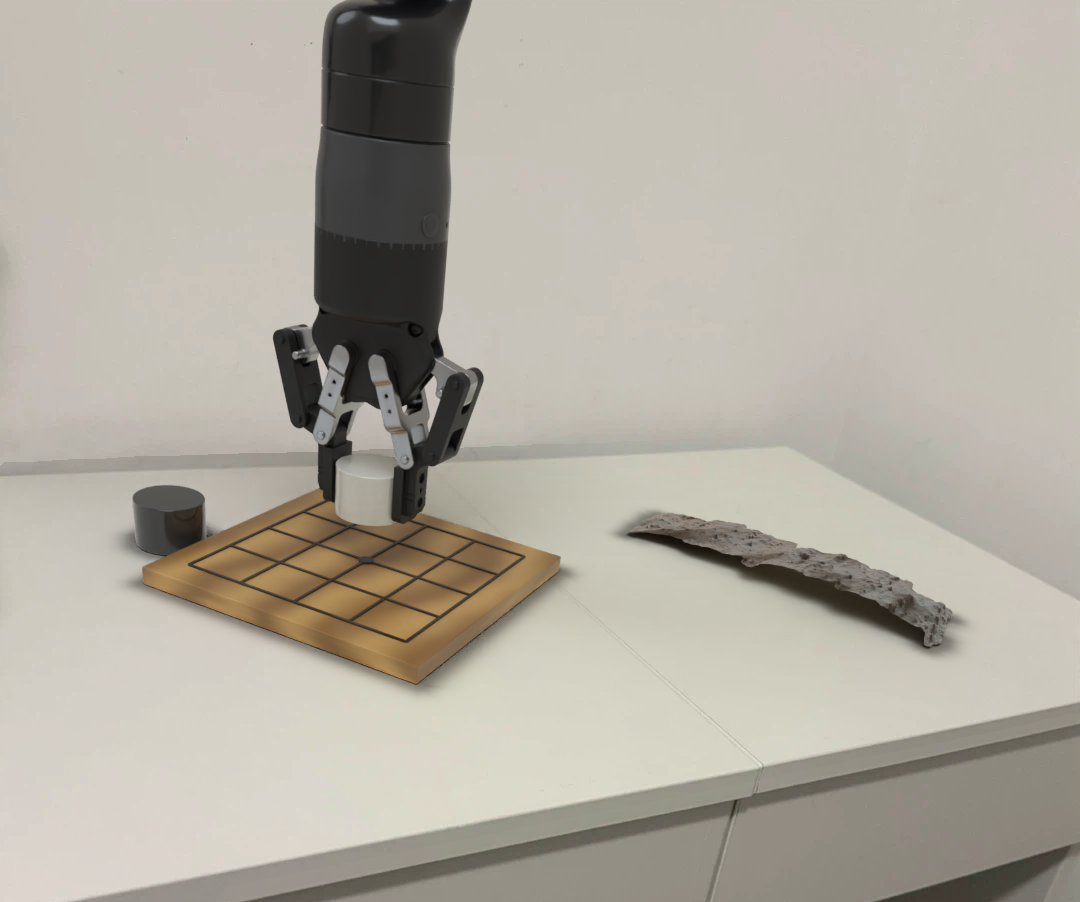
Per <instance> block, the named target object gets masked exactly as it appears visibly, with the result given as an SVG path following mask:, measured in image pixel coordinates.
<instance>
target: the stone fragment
mask: <svg viewBox="0 0 1080 902" xmlns="http://www.w3.org/2000/svg"><path fill="white" fill-rule="evenodd" d="M626 533H627V534H630V533H649V534H656V535H663V536H670V537H673V538H675V539H679V540H682V542H683V543H685V544H689V545H693V546H698V547H699V546H700V547H701V548H703V547H705V548H710V549H711V550H714V551H717V552H718V553H719V552H720V554H725V555H730V556H739V557H742V559H741V561H740V562H741V564H742V565H744V566H746V567H750V568H753V567H756V566H760V565H773V566H780V567H785V568H787V569H791V570H795V571H797V572H798V573H802V574H803V576H805V577H809V578H815V579H819V580H822V581H828V582H830V583H835V584H834V588H835V589H836V590H838V591H841V592H843V591H847V592H851V593H854V594H856V595H857V594H858V595H859V596H861V597H863V598H866V599H869V600H873V601H876V603H878V604H879V606H880V607H883V608H885V609H887V610H888V612H889V613H890V614H892V615H895V616H897V617H898V618H899V619H901V620H904V621H905V622H907V623H908V624H910V625H912V626H914V627H917V628H921V629H922V631H923V632H924V636H923V645H924V646H925V647H926V648H927V647H929V648H932V647H934V646H938V645H940V644H942V642H943V641H944V640H943V639H944V635H945V631H946V628H947V623H948V618H949V619H951V616H952V618H953V615H954V613H953V610H952V609H950V608H948V607H947V606H946V604H945V603H944V602H942V601H935V600H934V599H932V598H930V597H927V596H925V595H923V594H921V593H918V592H917V591H915V590H914V589H913V587H914V583H913V582H912V581H910V580H908V579H902V578H900V577H899V576H896V575H894V574H891V573H889V572H888V571H886V570H883V569H876V568H870V566H869V565H867V564H866V563H862V562H861V561H859V560H858V559H855V558H852V557H848V556H847V554H845V553H827V552H821V550H817V549H816V548H813V547H798V545H799V543H796V542H794V541H791V540H785V539H781V538H777V537H775V536H773V535H771V534H767V533H763V532H761V531H760V530H758V529H751V528H748V525H746V524H744V523H738V522H733V521H726V520H725V521H724V520H720V519H713V520H711V521H710V520H709V521H707V520H704V519H702V518H699V517H694V516H691V515H686V514H684V513H682V514H681V513H673V512H664V513H657V514H656V513H655V514H654V515H652V516H650V517H649V518H646V519H644V520H642V522H641V523H640V524H639V525H638V526H637V525H636V526H634V527H633V528H632V529H630V530H629V531H627V532H626Z"/></svg>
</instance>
